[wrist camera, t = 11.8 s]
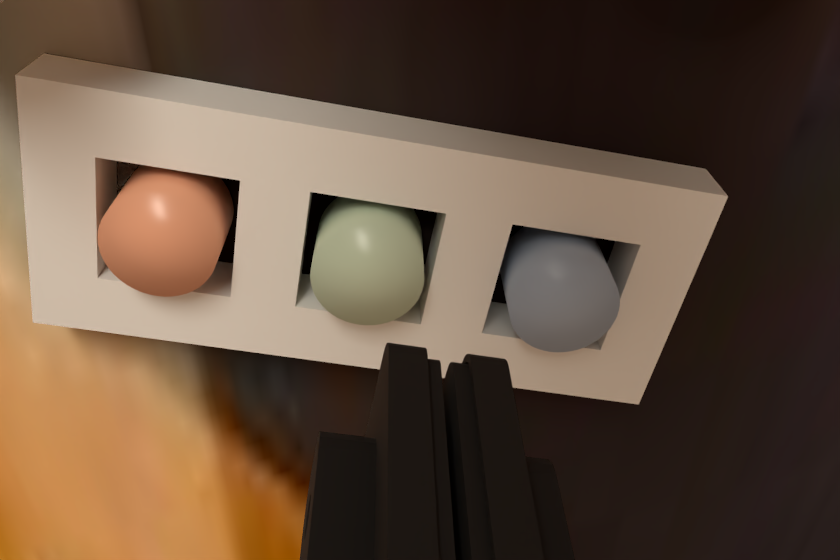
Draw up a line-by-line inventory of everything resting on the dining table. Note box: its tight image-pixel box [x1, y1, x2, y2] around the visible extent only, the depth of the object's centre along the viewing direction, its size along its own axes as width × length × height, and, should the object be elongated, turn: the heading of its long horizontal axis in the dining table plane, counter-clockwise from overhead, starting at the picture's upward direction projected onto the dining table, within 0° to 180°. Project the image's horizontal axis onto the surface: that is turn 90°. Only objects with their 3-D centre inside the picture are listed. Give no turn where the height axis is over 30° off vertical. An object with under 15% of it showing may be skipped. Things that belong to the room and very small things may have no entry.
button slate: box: [500, 226, 620, 352], centre depth 38 cm, size 5×5×4 cm
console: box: [15, 53, 728, 404], centre depth 38 cm, size 12×30×3 cm, turn 79°
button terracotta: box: [98, 165, 234, 297], centre depth 36 cm, size 5×5×4 cm
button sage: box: [310, 196, 424, 325], centre depth 37 cm, size 5×5×4 cm
